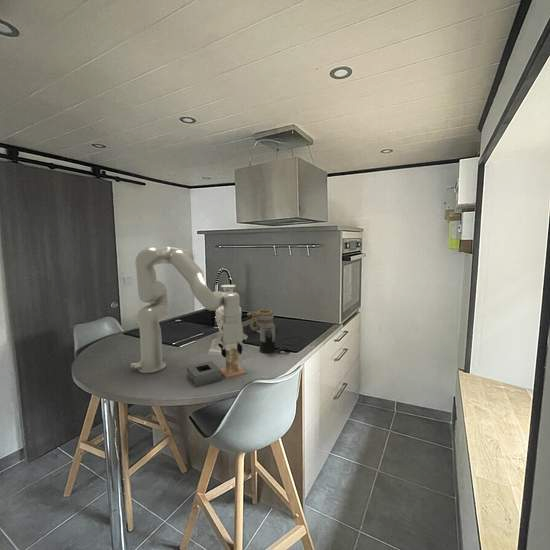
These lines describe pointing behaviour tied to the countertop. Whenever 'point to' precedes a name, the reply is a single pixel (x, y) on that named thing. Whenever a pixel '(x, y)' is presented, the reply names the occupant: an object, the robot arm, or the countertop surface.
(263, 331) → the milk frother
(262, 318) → the tankard
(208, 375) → the grey slotted holder
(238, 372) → the mat
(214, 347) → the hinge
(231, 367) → the peg
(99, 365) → the countertop surface
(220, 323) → the vase
